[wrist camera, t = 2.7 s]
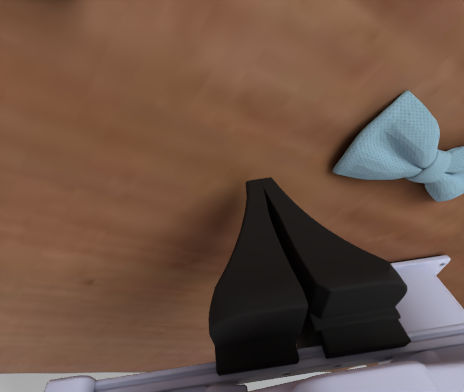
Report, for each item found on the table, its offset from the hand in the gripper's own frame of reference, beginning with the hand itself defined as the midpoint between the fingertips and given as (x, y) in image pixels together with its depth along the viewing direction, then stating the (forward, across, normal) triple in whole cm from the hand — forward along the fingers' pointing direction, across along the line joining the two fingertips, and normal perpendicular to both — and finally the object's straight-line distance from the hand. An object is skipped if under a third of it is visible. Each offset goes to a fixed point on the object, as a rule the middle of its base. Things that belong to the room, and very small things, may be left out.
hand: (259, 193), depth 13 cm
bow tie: (+2, -10, 0) cm, 10 cm away
